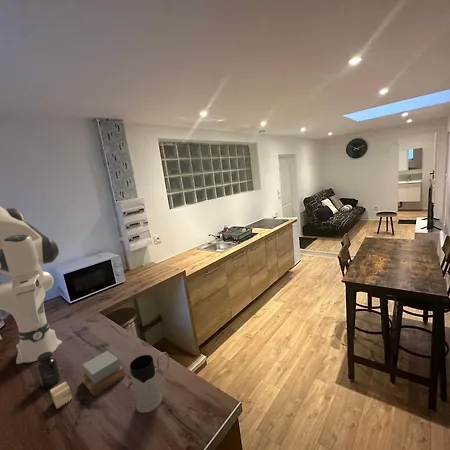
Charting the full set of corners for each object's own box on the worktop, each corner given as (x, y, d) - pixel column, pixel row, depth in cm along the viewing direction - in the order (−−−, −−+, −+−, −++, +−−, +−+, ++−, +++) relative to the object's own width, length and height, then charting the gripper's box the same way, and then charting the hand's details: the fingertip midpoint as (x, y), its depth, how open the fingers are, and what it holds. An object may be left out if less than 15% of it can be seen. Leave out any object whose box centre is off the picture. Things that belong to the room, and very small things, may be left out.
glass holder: (131, 403, 89) (123, 364, 86) (167, 378, 98) (160, 342, 96) (143, 417, 82) (134, 375, 80) (180, 389, 92) (173, 351, 90)
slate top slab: (84, 373, 102) (82, 364, 101) (109, 358, 109) (107, 350, 109) (94, 384, 95) (92, 374, 95) (120, 368, 102) (118, 358, 102)
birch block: (53, 402, 94) (50, 390, 93) (68, 393, 98) (65, 381, 97) (57, 409, 91) (53, 396, 90) (72, 399, 94) (69, 387, 93)
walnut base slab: (82, 383, 103) (80, 374, 102) (112, 365, 111) (110, 357, 110) (94, 397, 94) (91, 387, 94) (125, 377, 103) (123, 368, 102)
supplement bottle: (64, 374, 108) (58, 348, 107) (54, 386, 102) (47, 359, 100) (48, 376, 108) (41, 350, 107) (37, 389, 102) (29, 362, 100)
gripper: (24, 276, 98) (34, 310, 100) (9, 291, 80) (21, 332, 81) (44, 271, 100) (53, 305, 102) (34, 285, 82) (45, 325, 84)
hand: (39, 317), depth 92 cm, fingers open, 8 cm apart
